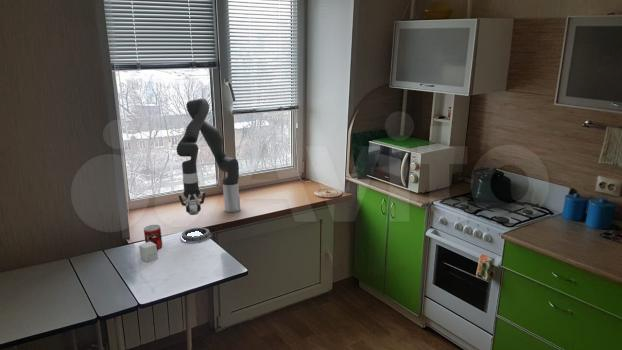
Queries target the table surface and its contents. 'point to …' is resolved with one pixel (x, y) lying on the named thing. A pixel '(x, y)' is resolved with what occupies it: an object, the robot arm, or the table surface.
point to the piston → (193, 207)
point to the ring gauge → (200, 238)
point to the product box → (148, 251)
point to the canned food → (153, 235)
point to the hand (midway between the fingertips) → (193, 211)
